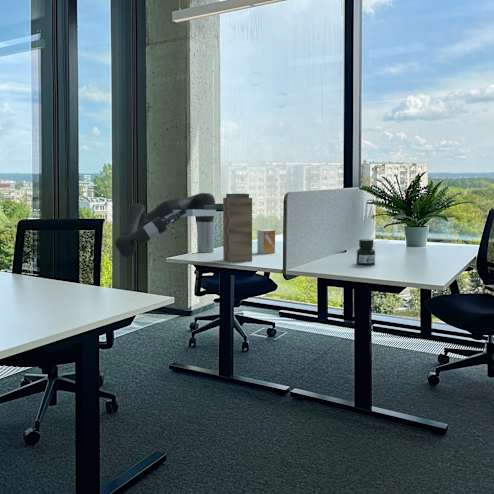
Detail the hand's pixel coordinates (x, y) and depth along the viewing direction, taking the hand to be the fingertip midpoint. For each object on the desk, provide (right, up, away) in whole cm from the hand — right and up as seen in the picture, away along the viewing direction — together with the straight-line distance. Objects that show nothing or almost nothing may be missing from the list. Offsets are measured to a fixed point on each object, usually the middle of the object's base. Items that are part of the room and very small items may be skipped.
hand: (184, 210), depth 265 cm
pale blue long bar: (+5, -3, +2) cm, 6 cm away
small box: (+41, -22, +39) cm, 61 cm away
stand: (+26, -25, +13) cm, 38 cm away
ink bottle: (+89, -27, +2) cm, 93 cm away
